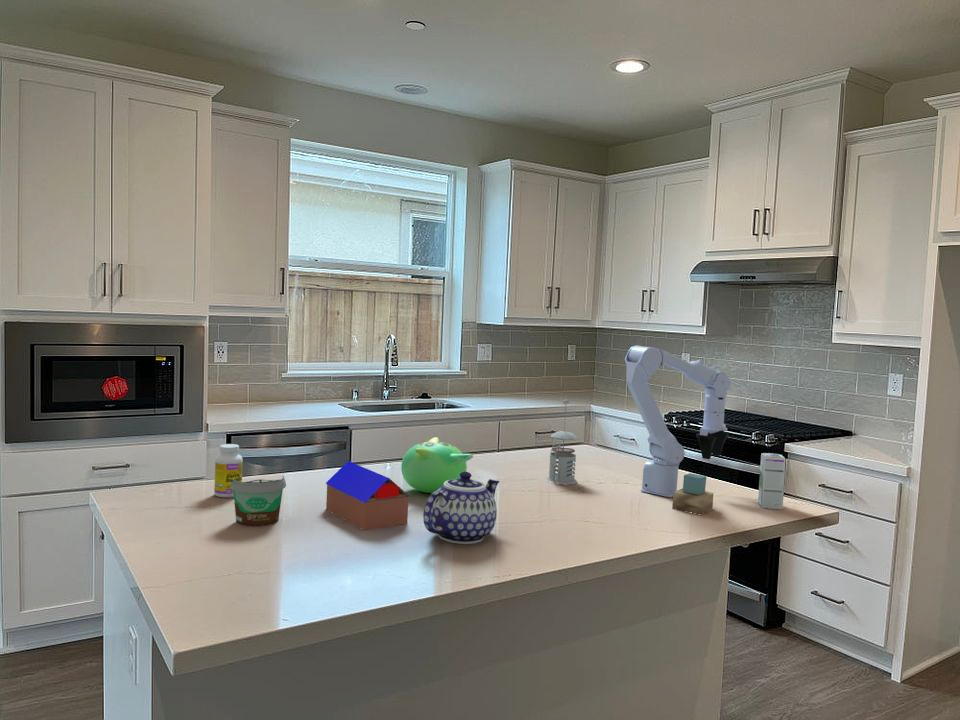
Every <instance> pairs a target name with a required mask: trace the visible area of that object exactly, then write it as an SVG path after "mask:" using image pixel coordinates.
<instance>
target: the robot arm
mask: <svg viewBox="0 0 960 720" xmlns="http://www.w3.org/2000/svg"><path fill="white" fill-rule="evenodd" d="M624 362H625V365H626V379H625V380H626V381H625V382H626V385H627V387H628V390H629V392H630V393H631V394H630V395H631V396H632V398H633V401H634V403H635V405H636V407H637V410H638V413H639V415H640V416H641V418H642V420H643V423H644V426H645V428H646V430H647V432H648V434H649V436H648V438H647V441H648V444H649V446H648V447H649V448H648V449H649V450H648V451H649V453H650V455H651V456H652V460H647V461H646V462H645V463H644V465H643V470H642V481H641V482H642V483H641V485H642V486H641V489H640V491H641V492H642V493H648V494H652V495H656V496H657V495H658V496H662V497H666V498H673V494H674V492H676V491H678V478H679V466H680V463H682V461H683V459H684V457H685V449H684V447H683V445H682V444H681V443H679V442H678V440H677V438H676V437H675V435H673V434H672V433H671V432H670V430H669V429H668V427H667V424H666V422H665V420H664V418H663V415H662V414H661V411H660V408H659V407H658V404H657V401H656V399H655V397H654V394H653V392H652V390H651V388H650V386H649V379H650V378H651V377H652V376H653V374H655V372H656V371H657V370H658V368H659V367H664V366H667V367H669V368H671V369H674V370H677V371H679V372H682V373H683V375H684V377H685V379H686V380H689V381H691V382H693V383H696V384H697V385H700V386H702V388H704V391H705V393H704V411H703V420H702V421H703V425H702V426H701V428H699V433H696V436H695V437H696V438H697V441H698V444H699V447H700V451H701V457H702V459H704V460H711V457H712V456H717V457H720V456H721V454H722V451H723V448H724V446H725V445H724V444H725V442H726V440H727V438H728V437H729V435H730V432H729V431H728V427H726V426H727V425H726V423H725V411H726V410H725V407H726V396H727V394H728V390H729V388H730V387H731V385H732V381H730V377H729V376H728V374H727V373H725V372H723V371H719V370H718V371H717V370H716V368H715V367H714V366H708V365H705V364H704V362H703V361H702V360H699V359H698V360H691V361H686V360H685V359H682V358H680V357H679V356H676V355H674V354H672V353H670V352H668V351H666V350H665V349H661V348H660V349H659V348H657V347H655V346H654V347H653V346H651V347H650V346H642V345H633V346H631V347H630V348H629V349H628V351H627V353H626V356H625V357H624Z"/></svg>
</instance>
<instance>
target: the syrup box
mask: <svg viewBox="0 0 960 720" xmlns="http://www.w3.org/2000/svg"><path fill="white" fill-rule="evenodd" d="M759 464H760V466H759V467H760V469H759V481H758V499H757V500H758V501H757V503H758V504H759V506H760V507H761V508H762V509H767V508H768V510H769V509H770V510H777V509H778V510H781V511H782V510H783V507H784V506H783V505H784V493H785V490H784V489H785V478H786V477H785V475H786V458H785V456H783V454H779V453H772V452H771V453H770V452H768V453H767V452H763V453H761V455H760V463H759Z"/></svg>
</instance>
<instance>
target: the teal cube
mask: <svg viewBox="0 0 960 720" xmlns="http://www.w3.org/2000/svg"><path fill="white" fill-rule="evenodd" d="M682 482H683V483H682V488H683V492H686V493H691V494H696V495H700V494H703V493H705V491H706V485H707V484H706V483H707V476H706V475H702V474H697V473H692V472H689V473H686V474H684V475H683V481H682Z"/></svg>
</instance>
